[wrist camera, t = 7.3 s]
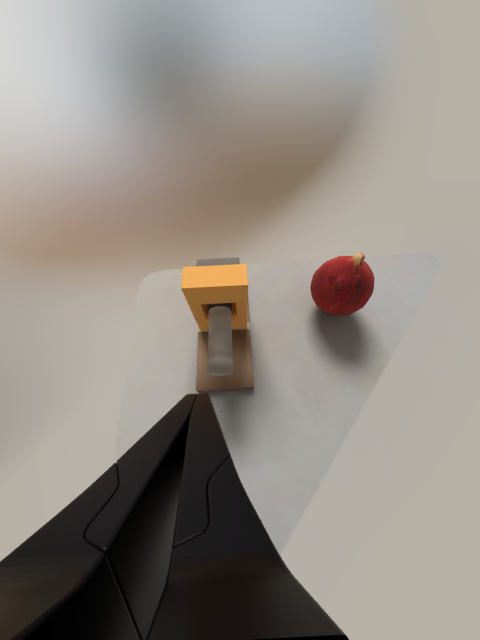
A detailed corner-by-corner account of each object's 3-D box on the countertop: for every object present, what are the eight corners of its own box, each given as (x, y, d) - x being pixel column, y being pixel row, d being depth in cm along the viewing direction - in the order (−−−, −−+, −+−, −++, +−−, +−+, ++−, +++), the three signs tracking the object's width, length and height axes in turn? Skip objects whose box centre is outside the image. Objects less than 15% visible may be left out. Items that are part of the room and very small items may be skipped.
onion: (359, 326, 25) (406, 284, 17) (307, 328, 25) (334, 286, 17) (346, 283, 27) (383, 231, 20) (300, 285, 27) (320, 233, 20)
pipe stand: (253, 388, 22) (257, 373, 16) (197, 391, 22) (180, 377, 16) (246, 294, 27) (247, 257, 21) (200, 296, 27) (188, 260, 21)
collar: (246, 328, 24) (248, 284, 16) (200, 330, 24) (181, 288, 16) (245, 312, 25) (246, 263, 17) (201, 314, 25) (183, 267, 17)
